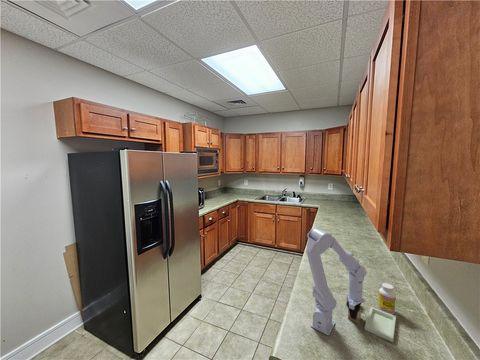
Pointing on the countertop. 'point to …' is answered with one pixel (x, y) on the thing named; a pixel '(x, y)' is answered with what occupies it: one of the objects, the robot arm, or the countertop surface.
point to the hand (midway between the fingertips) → (354, 315)
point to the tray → (381, 324)
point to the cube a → (357, 316)
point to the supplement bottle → (387, 298)
